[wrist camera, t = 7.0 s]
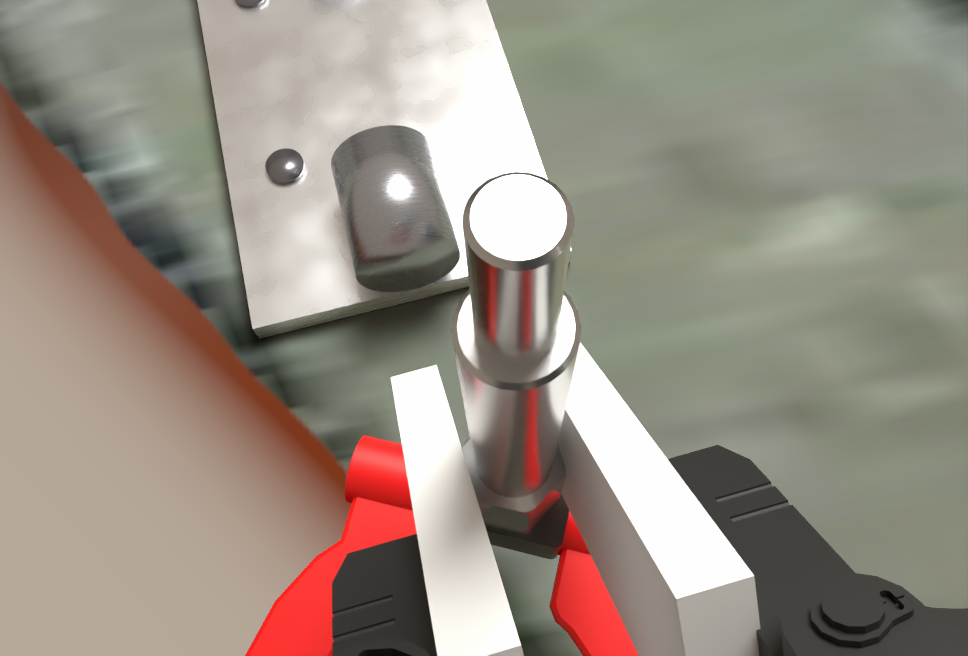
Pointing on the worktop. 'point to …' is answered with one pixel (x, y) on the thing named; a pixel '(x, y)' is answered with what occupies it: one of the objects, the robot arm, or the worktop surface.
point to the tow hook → (486, 426)
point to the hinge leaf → (357, 146)
